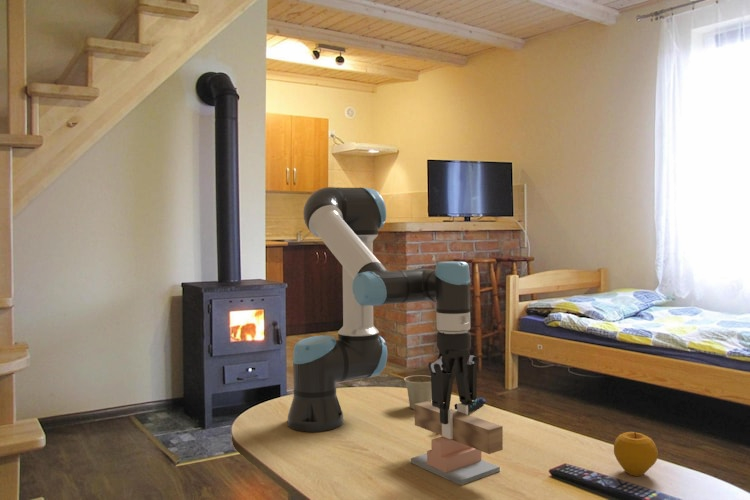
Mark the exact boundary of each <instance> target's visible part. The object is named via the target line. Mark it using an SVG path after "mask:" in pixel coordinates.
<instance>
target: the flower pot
mask: <svg viewBox="0 0 750 500" xmlns="http://www.w3.org/2000/svg"><path fill="white" fill-rule="evenodd" d="M403 380H404V382H405V385H406V389H407V390H406V391H407V396H408V401H409V402H408V403H409V408H410V409H412V410H413V411H415V404H417V403H422V402H426V401H429V402H431V403H432V391H431V375H424V374H423V375H420V374H419V375H417V374H416V375H409V376H406V377H404V378H403Z"/></svg>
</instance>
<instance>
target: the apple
mask: <svg viewBox="0 0 750 500" xmlns="http://www.w3.org/2000/svg"><path fill="white" fill-rule="evenodd" d="M613 454H614V457H615V458H616V461H617V462H618V464H619V465H620V466H621V468H622V469H623V470H624V472H625V473H627V474H628V475H630V476H633V477H639V476H642V475H645V474H646V472H647V471H648V470H650V469H651V468H652V467H653V466H654V465H655V464H656V462H657V461H658V456H659V452H658V448H657V446H656V443H655V442H654V441H653V438H652V437H649V436H648V435H645V434H644V433H641V432H637V431H627V432H626V431H625V432H623V433H620V434H619V435H618V436H617V437H615V441H614V443H613Z"/></svg>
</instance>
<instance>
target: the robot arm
mask: <svg viewBox="0 0 750 500" xmlns="http://www.w3.org/2000/svg"><path fill="white" fill-rule="evenodd" d="M385 203H386V202H385V200H384V198H383V197H382V195H381V193H380V192H378V191H377V190H376V189H373V188H369V187H368V188H367V187H361V186H360V187H336V186H327V187H323V188H319V189H317V190H316V191H314V192H313V193H312V194H311V195H310V196H309V197H308V198H307V200H306V201H305V204H304V207H303V220H304V223H305V226H306V228H307V229H308V230H309V232H310V233H311V234H312V235H313V236H314V237H316V238H319V239H321V241H322V243H324V245H325V246H326V248H328V250H329V251H330V252H331V254H332V255H333V256H334V257H335V259H336V260H337V261H338V262H339V263H340V264H341V266H342V318H343V320H342V321H343V322H342V323H343V324H342V327H341V328H340V329H339V330H338V331H337V339H336V337H335V336H333V335H327V334H325V335H314V336H310V337H306V338H303V339H300V340H299V341H297V342H296V343H295V344H294V346H293V350H292V351H293V352H292V353H293V354H292V359H291V360H292V371H293V372H292V373H293V374H292V375H293V376H292V377H293V397H292V399H291V400H292V401H291V404H290V408H289V411H288V414H287V426H288V427H289V428H291V429H292V430H295V431H301V432H311V433H313V432H315V433H316V432H324V431H330V430H333V429H336V428H337V429H338V428H339V427H341V426H342V425H343V424H344V414H343V411H342V408H341V405H340V402H339V401H340V400H339V399H338V395H337V383H342V382H348V381H354V380H366V379H369V378H373V377H377V376H379V375H380V374H381V373H382V372H383V371H384V369H385V368H386V364H387V360H388V347H387V345H386V343H387V342H386V340H385V339H384V338H383V337H382V336H381V335H380V331H379V329H378V328H376V327H375V325H374V307H377V306H378V307H379V306H384V305H394V304H395V305H396V304H405V303H417V302H433V303H435V305H436V307H435V309H436V313H435V314H436V330H438V331H437V332H436V348H437V349H438V356H437V360H435V361H434V362H429V363H428V369H429V372H430V376H431V391H432V401H431V403H432V406H434V407H437V408H439V409H440V423H442V435H441V437H445V438H448V439H453V414H452V410H453V409H452V408H450V406H451V397H452V392H453V391H452V390H453V384H454V379H455V381H456V385H457V393H458V399H459V403H456V404H457V411H458V412H461V413H464V414H467V415H470V416H471V414H470V405H473V403H474V402H473V401H474V400H476V399H478V397H477V395H478V394H477V391H478V390H477V388H478V387H477V386H478V385H477V383H478V382H477V381H478V380H477V379H478V377H477V375H478V369H477V368H478V364H479V356H475V355H471V354H470V349H471V347H472V341H471V340H472V334H471V332H470V330H471V280H472V279H471V276H470V275H471V274H470V266H469V264H468V262H466V261H459V260H458V261H439V262H437V263H436V264H435V269H431V268H426V267H416V268H412V269H402V270H388V269H387V268H386V267H385V265H383V263H381V261H380V260H379V259H378V258H377V257H376V255H374V254H373V253H374V245H373V243H374V240H376V238H377V237H378V236H379V230H380V229H382V228H383V227H384V226H385V222H386V220H387V208H386V204H385Z"/></svg>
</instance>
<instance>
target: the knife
mask: <svg viewBox="0 0 750 500" xmlns="http://www.w3.org/2000/svg"><path fill="white" fill-rule="evenodd" d="M473 402H474V403H473V405H470V413H473V412H475V411H477V410H478V409H480V408H482V407H483V406H484V405H485V404H486V402H487V400H486V399H485V398H484V397H477V398H476V400H473ZM454 410H455V411H457V403H455V404H454Z"/></svg>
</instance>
